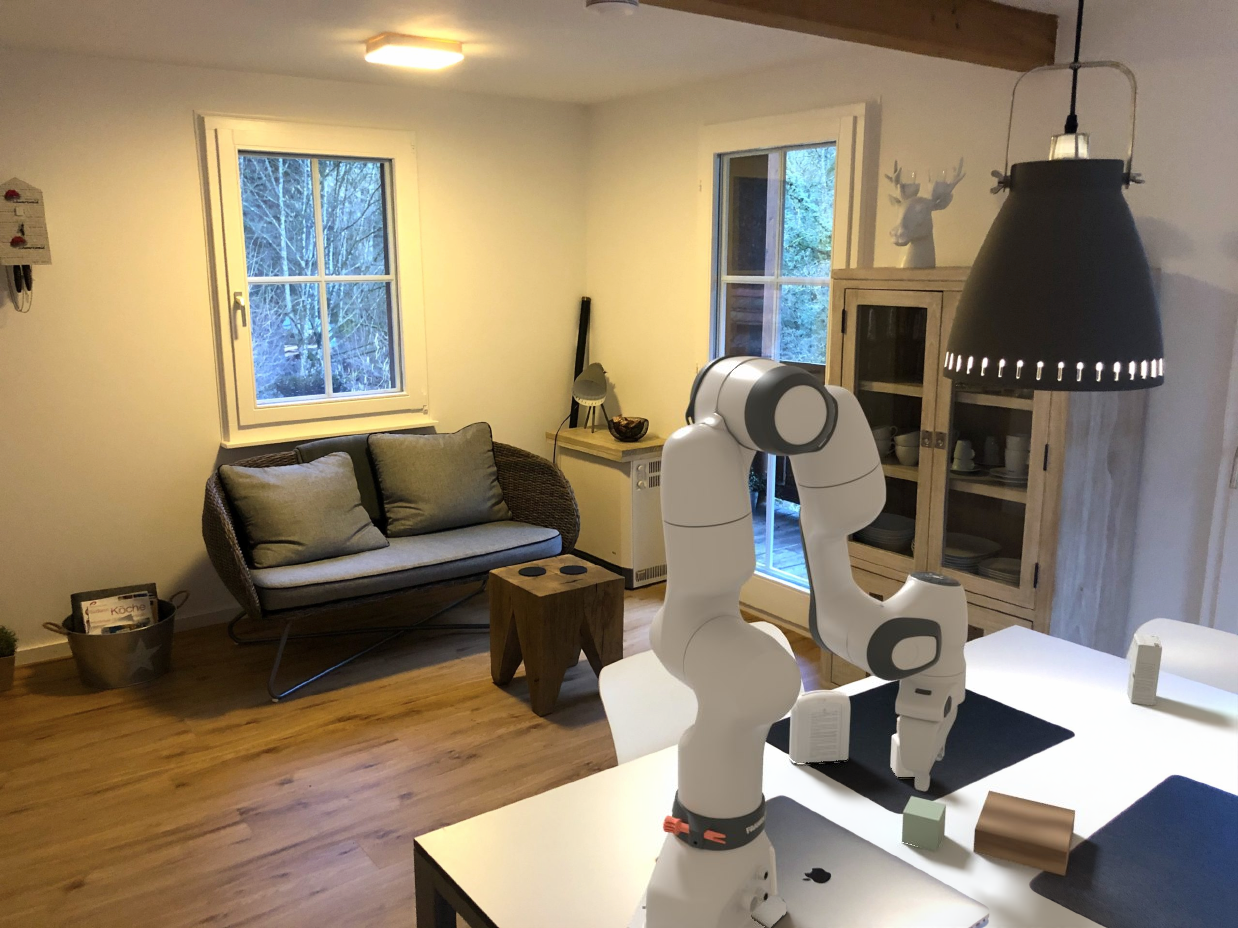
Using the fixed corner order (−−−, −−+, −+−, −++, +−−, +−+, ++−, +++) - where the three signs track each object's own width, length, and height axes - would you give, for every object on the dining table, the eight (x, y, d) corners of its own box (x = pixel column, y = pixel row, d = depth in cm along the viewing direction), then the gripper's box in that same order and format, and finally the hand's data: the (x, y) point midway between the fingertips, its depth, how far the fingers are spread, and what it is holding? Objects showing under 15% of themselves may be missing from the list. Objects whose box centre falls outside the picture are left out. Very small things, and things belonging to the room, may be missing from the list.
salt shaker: (912, 766, 165) (915, 713, 163) (920, 778, 161) (923, 724, 159) (889, 767, 165) (891, 714, 163) (896, 779, 161) (899, 725, 159)
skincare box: (1126, 690, 193) (1131, 632, 191) (1152, 693, 192) (1157, 634, 189) (1130, 703, 188) (1136, 643, 185) (1157, 707, 186) (1162, 646, 184)
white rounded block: (843, 750, 171) (845, 683, 168) (852, 762, 167) (854, 694, 164) (785, 755, 169) (787, 688, 167) (793, 767, 165) (794, 698, 163)
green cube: (937, 852, 141) (938, 820, 140) (901, 843, 143) (903, 811, 142) (944, 835, 145) (946, 804, 144) (909, 826, 148) (911, 795, 147)
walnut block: (1064, 878, 135) (1066, 851, 134) (973, 854, 141) (974, 828, 140) (1073, 835, 145) (1075, 810, 145) (987, 814, 151) (989, 790, 150)
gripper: (926, 653, 150) (923, 737, 153) (891, 707, 133) (889, 801, 135) (969, 660, 147) (966, 745, 150) (940, 716, 130) (937, 812, 132)
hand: (929, 772), depth 142 cm, fingers open, 8 cm apart
